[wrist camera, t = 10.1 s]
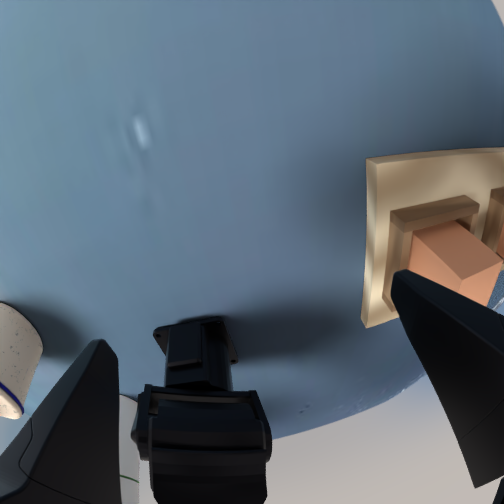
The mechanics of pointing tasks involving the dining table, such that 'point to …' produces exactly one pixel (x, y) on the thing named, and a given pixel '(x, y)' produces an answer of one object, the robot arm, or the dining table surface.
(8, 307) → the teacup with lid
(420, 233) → the loose block
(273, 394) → the dining table surface
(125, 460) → the cylindrical container
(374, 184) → the socket board
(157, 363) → the dining table surface
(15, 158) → the dining table surface
